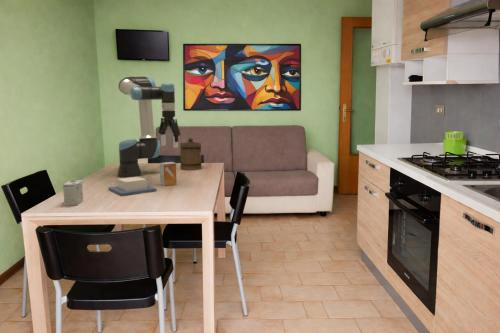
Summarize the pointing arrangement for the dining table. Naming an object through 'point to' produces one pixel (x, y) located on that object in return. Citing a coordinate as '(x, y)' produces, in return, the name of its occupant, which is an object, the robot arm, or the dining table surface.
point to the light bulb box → (73, 192)
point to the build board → (124, 193)
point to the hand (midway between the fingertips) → (169, 146)
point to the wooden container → (190, 155)
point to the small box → (168, 173)
